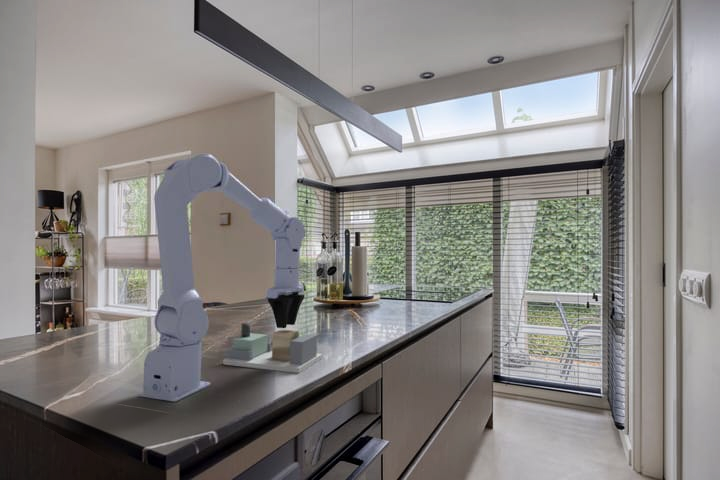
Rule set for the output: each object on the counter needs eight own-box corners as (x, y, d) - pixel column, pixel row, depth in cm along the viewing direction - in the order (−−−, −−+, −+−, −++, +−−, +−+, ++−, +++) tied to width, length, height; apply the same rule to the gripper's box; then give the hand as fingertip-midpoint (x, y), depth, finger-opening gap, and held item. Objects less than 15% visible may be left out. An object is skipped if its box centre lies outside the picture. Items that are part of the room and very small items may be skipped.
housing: (289, 360, 91) (290, 334, 91) (267, 358, 92) (268, 332, 92) (298, 356, 95) (298, 330, 95) (277, 353, 97) (277, 329, 97)
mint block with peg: (251, 358, 92) (252, 327, 92) (232, 356, 94) (233, 326, 94) (267, 351, 99) (267, 322, 99) (249, 349, 100) (250, 321, 100)
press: (299, 373, 85) (299, 344, 85) (223, 364, 91) (223, 337, 91) (322, 358, 98) (322, 333, 98) (254, 351, 103) (254, 327, 103)
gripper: (288, 269, 86) (286, 333, 85) (315, 267, 100) (314, 322, 99) (259, 268, 88) (257, 330, 88) (289, 267, 102) (288, 320, 101)
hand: (285, 326), depth 94 cm, fingers open, 4 cm apart
